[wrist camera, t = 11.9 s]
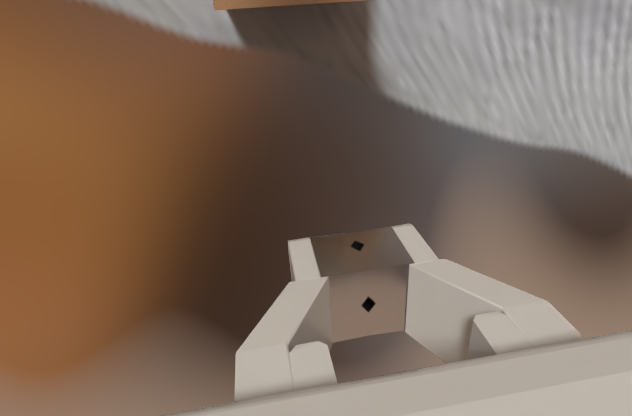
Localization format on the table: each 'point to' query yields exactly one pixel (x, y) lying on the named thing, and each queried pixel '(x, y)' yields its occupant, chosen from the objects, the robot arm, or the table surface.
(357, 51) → the table surface
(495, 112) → the table surface
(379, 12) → the table surface
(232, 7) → the tray
